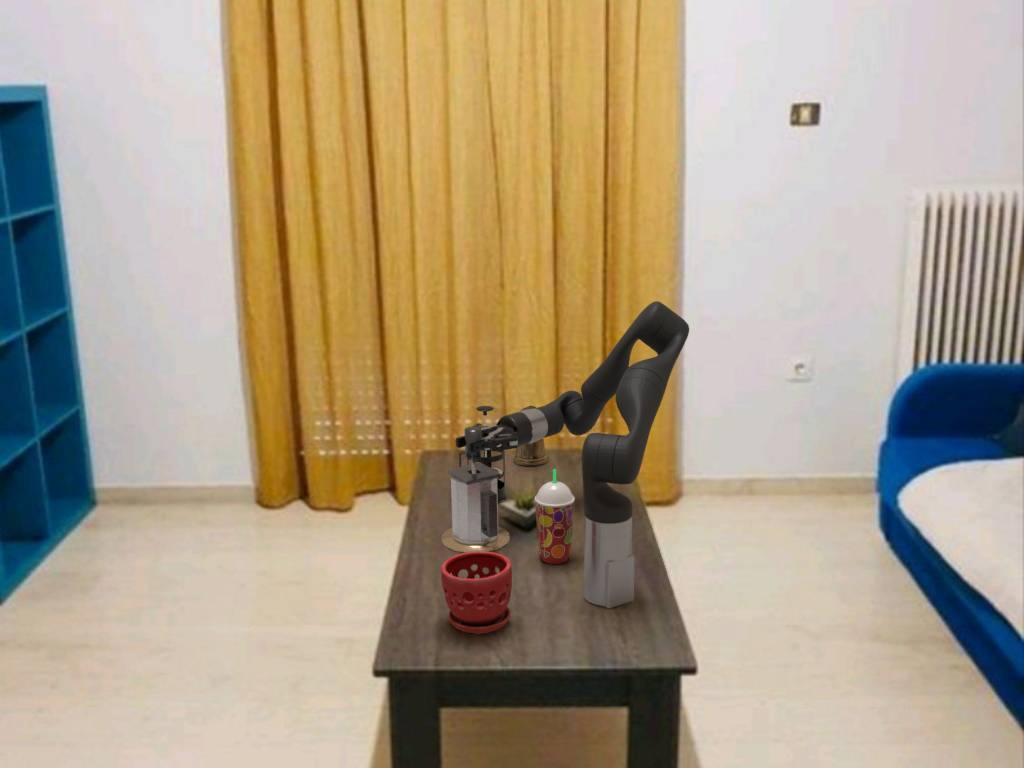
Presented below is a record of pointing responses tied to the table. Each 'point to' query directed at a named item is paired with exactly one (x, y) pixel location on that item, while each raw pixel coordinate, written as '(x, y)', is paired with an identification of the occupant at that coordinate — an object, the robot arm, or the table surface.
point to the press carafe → (474, 511)
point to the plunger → (470, 436)
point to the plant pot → (477, 591)
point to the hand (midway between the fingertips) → (463, 445)
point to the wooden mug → (531, 452)
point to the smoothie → (554, 521)
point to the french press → (490, 459)
